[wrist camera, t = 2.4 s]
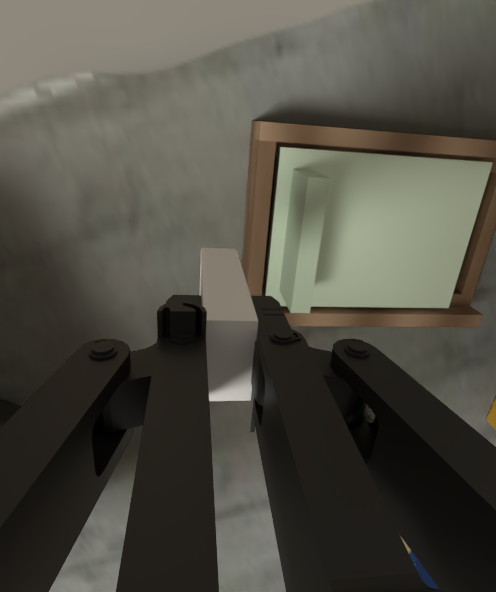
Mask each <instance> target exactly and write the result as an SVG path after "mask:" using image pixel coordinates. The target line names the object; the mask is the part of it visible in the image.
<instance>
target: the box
mask: <svg viewBox="0 0 496 592" xmlns="http://www.w3.org/2000/svg"><path fill="white" fill-rule="evenodd" d="M277 146H285V147H298V148H312V149H326V150H339V151H353V152H367V153H380V154H394V155H408V156H421V157H435V158H449V159H462V160H476V161H486V162H493V164H492V167H491V170H490V174H489V177H488V180H487V184H486V187H485V190H484V193H483V197H482V200H481V203H480V207H479V210H478V213H477V216H476V220H475V223H474V226H473V230H472V233H471V236H470V240H469V243H468V246H467V249H466V253H465V256H464V259H463V263H462V266H461V269H460V272H459V276H458V279H457V282H456V286H455V289H454V292H453V295H452V299H451V302H450V305H449V308H391V307H311V309H310V313H291V312H290V311H289V309H288V307H287V306H281V307H282V310H283V312H284V314H285V316H286V318H287V321H288V323H289V325H290V326H397V327H479V326H480V323H481V320H482V317H483V315H482V314H481V313H479V312H478V311H476V310H475V309H473V308H472V307H470V303H471V300H472V297H473V294H474V291H475V288H476V285H477V282H478V279H479V276H480V273H481V270H482V266H483V263H484V260H485V257H486V254H487V251H488V248H489V245H490V242H491V239H492V236H493V233H494V230H495V227H496V141H494V140H482V139H470V138H458V137H445V136H433V135H421V134H409V133H397V132H384V131H372V130H360V129H348V128H336V127H324V126H311V125H299V124H287V123H275V122H263V121H252V128H251V141H250V155H249V169H248V183H247V197H246V211H245V225H244V239H243V252H242V269H243V272H244V276H245V279H246V282H247V285H248V289H249V292H250V295H251V296H263V288H264V278H265V268H266V257H267V247H268V237H269V227H270V216H271V206H272V196H273V186H274V175H275V165H276V155H277Z"/></svg>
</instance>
